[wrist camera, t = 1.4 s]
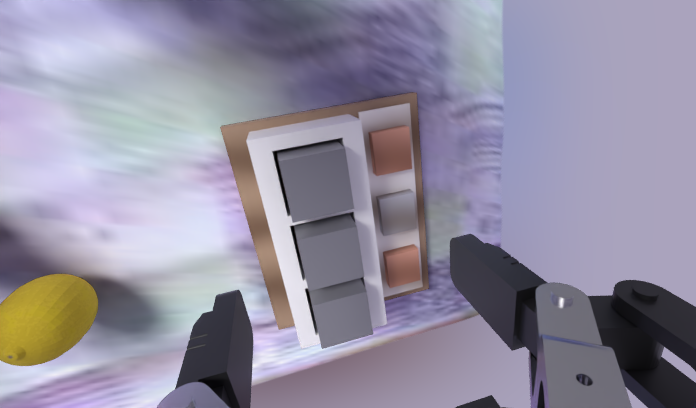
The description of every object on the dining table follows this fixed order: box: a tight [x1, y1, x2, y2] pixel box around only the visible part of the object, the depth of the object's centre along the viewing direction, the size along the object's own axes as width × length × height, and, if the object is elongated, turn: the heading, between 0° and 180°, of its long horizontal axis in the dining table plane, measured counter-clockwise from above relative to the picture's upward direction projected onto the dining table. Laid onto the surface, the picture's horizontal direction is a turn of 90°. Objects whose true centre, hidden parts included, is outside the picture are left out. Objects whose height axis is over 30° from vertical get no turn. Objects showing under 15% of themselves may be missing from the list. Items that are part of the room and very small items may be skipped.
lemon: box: [0, 274, 98, 366], centre depth 25 cm, size 6×6×8 cm
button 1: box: [277, 139, 354, 223], centre depth 24 cm, size 4×4×4 cm
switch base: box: [220, 92, 429, 330], centre depth 30 cm, size 20×16×2 cm
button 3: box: [309, 278, 373, 349], centre depth 29 cm, size 4×4×4 cm
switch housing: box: [246, 114, 387, 349], centre depth 28 cm, size 19×8×4 cm, turn 8°
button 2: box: [294, 213, 364, 291], centre depth 27 cm, size 4×4×4 cm
